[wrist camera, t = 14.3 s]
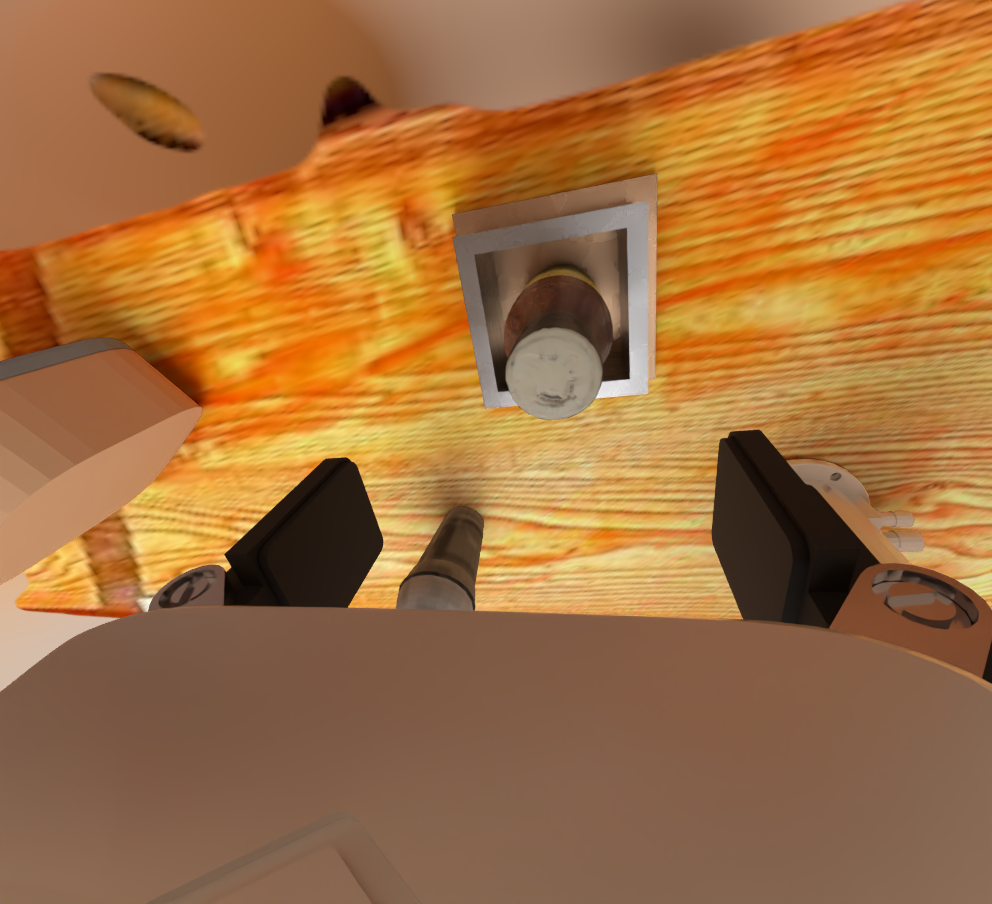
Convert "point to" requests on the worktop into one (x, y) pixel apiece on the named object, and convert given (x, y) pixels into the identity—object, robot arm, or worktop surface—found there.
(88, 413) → the alarm clock
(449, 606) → the beverage cup
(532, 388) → the sauce bottle
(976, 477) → the worktop surface
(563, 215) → the grey square open box
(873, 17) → the worktop surface
